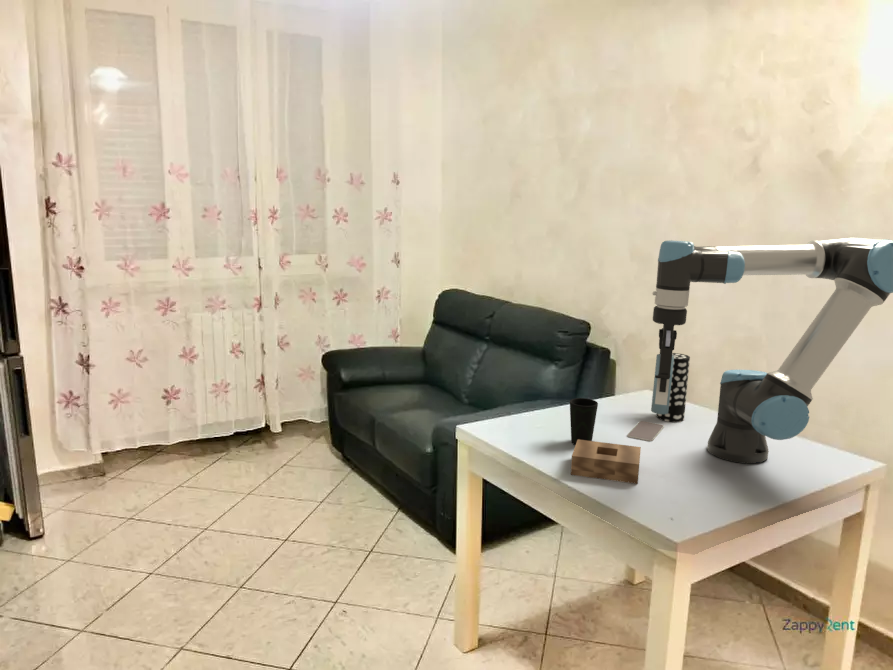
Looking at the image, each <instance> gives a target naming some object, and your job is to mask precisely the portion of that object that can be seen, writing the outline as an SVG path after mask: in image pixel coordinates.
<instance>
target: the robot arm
mask: <svg viewBox="0 0 893 670" xmlns="http://www.w3.org/2000/svg"><path fill="white" fill-rule="evenodd" d="M656 273H657V274H656V284H655V287H656V288H655V291H653V292H652V296H655V297H654V304H655V306H654V307H653V312H652V321H653V322H654V323H655V324H658V325H659V324H660V325H662V328H659V331H658V338H659V339H658V348H659V354H661V355H660V365H659V374H658V375H655V374H654V377H655V378H657V388H656V398H655V404H660V405H667V398H668V389H669V378H670V370H671V360H672V353H673V352H674V350H675V347H676V345H675V344H676V339H677V335H678V333H677V330H675V326H683V325H685V324H686V323H687V314H688V310H687V307H688V306H689V298H690V289H691V287H690V286H691V283H710V284H712V283H713V284H714V283H716V284H724V285H726V284H735V283H738V282H739V281H741V279H742V278H743V276H786V275H787V276H788V275H790V276H791V275H793V276H794V275H798V276H799V275H801V276H802V275H805V276H806V277H807V278H809V279H824V280H825V279H826V280H831V281H834V285H835V290H834V291H833V293H832V294H831V295H830V297H829V298H828V300H827V301H826V303H825V304H824V305H823V306H822V308H821V309H820V310H819V312H818V314H816V316H815V318H814V319H813V320H812V322H811V323H810V324H809V326H808V328H807V329H806V330H805V331H804V333H803V335H802V336H801V337H800V338H799V340H798V341H797V342H796V344H795V345H794V347H793V348H792V350H791V351H790V352H789V354H788V355H787V356H786V358H785V359H784V361H783V362H782V363H781V365H780V367H779V368H778V369H777V370H775V371H769V372H766V371H762V370H753V369H729V370H728V369H727V370H725V371H723V372H722V375H721V379H720V383H719V384H720V387H719V396H718V405H717V406H718V407H717V408H718V409H717V418H716V419H717V420H716V423H715V425H714V428H713V430H712V431H711V434H710V436H709V438H708V440H707V446H706V447H707V451H708V452H709V453H710V454H711V455H712V456H715V457H717V458H719V459H722V460H725V461H729V462H734V463H740V464H741V463H742V464H757V463H756V462H760V463H763V462H762V461H764V460H766V459H767V460H768V456H769V446H768V441H767V438H769V439H772V440H776V441H785V440H788V439H789V440H790V439H792V438H795V437H796V436H798V435H800V434H801V432H803V431H804V430H805V428H806V427H807V426H808V423H809V421H810V415H809V414H810V409H809V405H810V404H811V403H812V401H813V400H814V398H813V395H812V389H813V388H815V387H814V386H815V385H816V384H817V382H818V381H819V380H820V378H821V377H822V375H823V374H824V373H825V372H826V370H827V369H828V367H829V366H830V365H831V364H832V362H833V360H834V359H835V358H836V356H838V354H839V352H840V351H841V349H842V348H843V347H844V346H845V344H846V343H847V341H848V340H849V339H850V338H851V336H852V335H853V333H854V332H855V330H856V329H857V328H858V326H859V325H860V324H861V322H862V321H863V319H864V318H865V316H866V315H867V314H868V313H869V311H870V310H871V309H872V307H877V306H881V305H883V304H884V303H885V302H886V300H887V299H888V297H889V296H890V295H891V294H893V240H892V239H890V238H889V239H887V238H886V239H877V238H865V237H857V236H856V237H855V236H854V237H853V236H852V237H844V238H835V239H823V240H811V241H809V242H807V244H779V245H777V244H776V245H773V244H770V245H768V244H767V245H766V244H765V245H719V246H718V245H715V246H710V245H709V246H696V245H695V244H694V242H692V241H690V240H689V241H688V240H687V241H686V240H672V239H671V240H664V241H663V242H662V243H661V245H660V247H659V252H658V257H657V271H656ZM766 437H767V438H766ZM767 460H766V461H767ZM764 462H765V461H764Z"/></svg>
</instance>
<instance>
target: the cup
mask: <svg viewBox="0 0 893 670" xmlns="http://www.w3.org/2000/svg"><path fill="white" fill-rule="evenodd" d="M598 406H599V403H598V401H596V400H594V399H592V398H588V397H587V398H584V397H576V398H575V397H574V398H572V399H570V400H569V414H570V415H569V416H570V417H569V419H570V421H569V422H570V443H571V445H573V446H575V445H576V443H577V440H578V439H579V440H587V441H593V437H594V431H595V425H596V419H597V418H596V417H597V413H598Z"/></svg>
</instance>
